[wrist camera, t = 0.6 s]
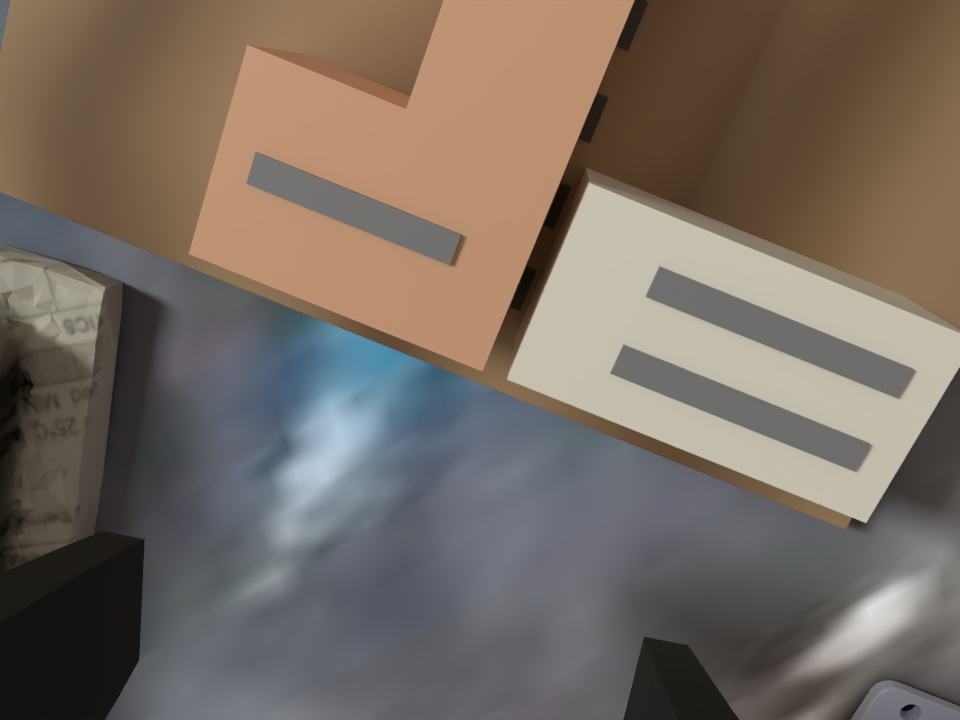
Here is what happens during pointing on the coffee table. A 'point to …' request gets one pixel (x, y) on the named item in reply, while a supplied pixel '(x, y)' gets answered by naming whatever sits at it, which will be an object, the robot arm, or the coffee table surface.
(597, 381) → the white toaster
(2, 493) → the packaged product
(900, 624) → the coffee table surface
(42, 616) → the robot arm
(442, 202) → the block
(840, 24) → the board
